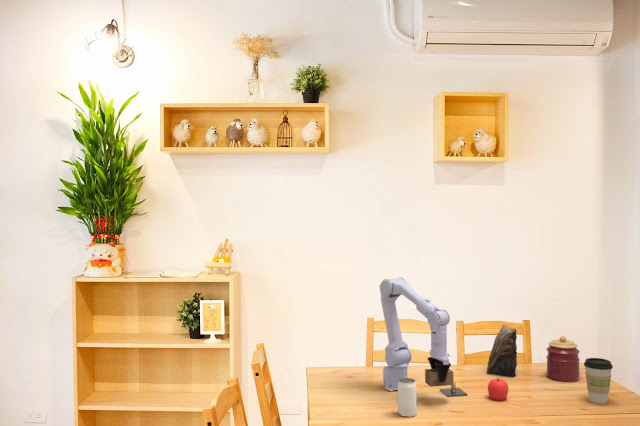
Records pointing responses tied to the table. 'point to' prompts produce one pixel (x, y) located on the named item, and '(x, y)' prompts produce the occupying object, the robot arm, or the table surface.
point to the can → (407, 397)
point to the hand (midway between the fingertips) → (439, 379)
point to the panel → (453, 391)
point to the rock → (503, 353)
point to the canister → (563, 360)
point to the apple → (498, 389)
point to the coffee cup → (598, 379)
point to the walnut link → (433, 379)
